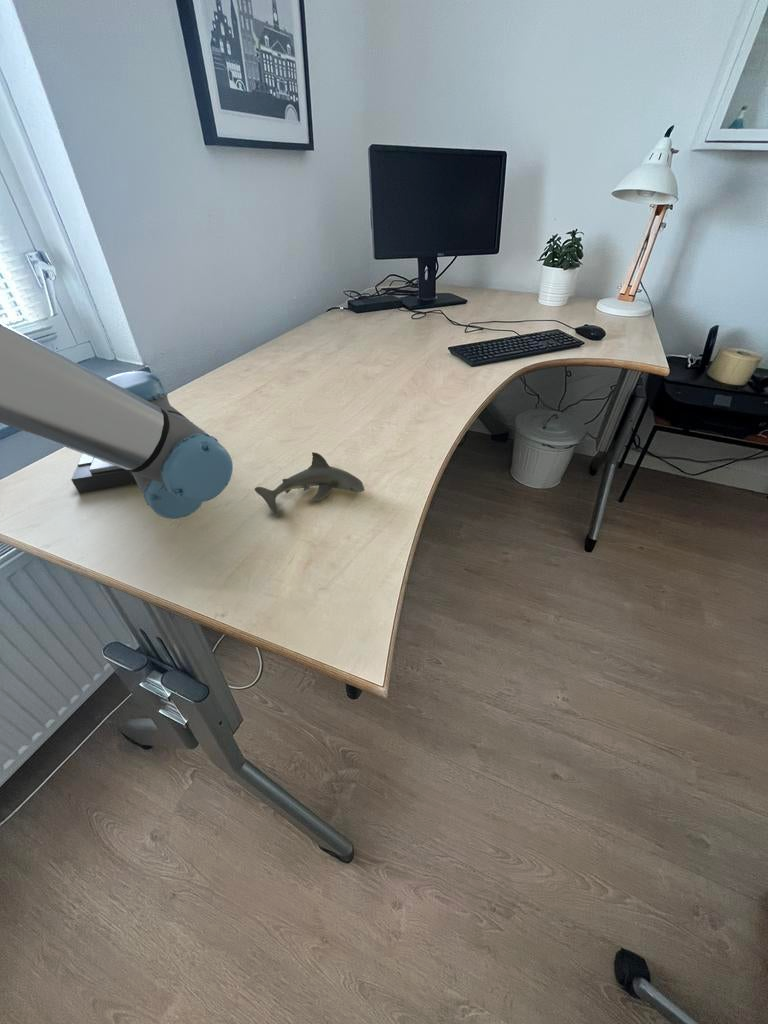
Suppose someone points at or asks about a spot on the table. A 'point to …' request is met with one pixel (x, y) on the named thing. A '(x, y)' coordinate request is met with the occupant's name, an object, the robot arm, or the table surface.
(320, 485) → the shark figurine
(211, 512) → the table surface
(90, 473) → the scale
